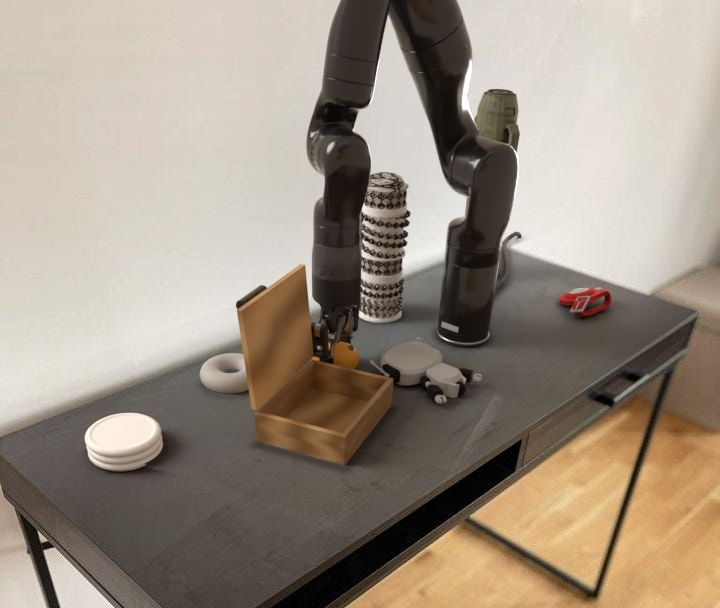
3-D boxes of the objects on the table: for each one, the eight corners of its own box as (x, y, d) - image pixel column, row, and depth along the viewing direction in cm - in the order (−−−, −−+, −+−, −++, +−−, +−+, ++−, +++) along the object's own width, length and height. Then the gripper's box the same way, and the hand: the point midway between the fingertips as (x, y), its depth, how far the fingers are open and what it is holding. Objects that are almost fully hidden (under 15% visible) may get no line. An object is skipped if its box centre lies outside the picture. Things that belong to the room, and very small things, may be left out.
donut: (191, 395, 117) (253, 402, 116) (188, 375, 115) (251, 382, 114) (214, 365, 125) (272, 371, 124) (211, 346, 123) (270, 352, 122)
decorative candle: (396, 327, 139) (405, 186, 124) (348, 319, 141) (351, 179, 126) (409, 307, 146) (419, 172, 131) (363, 300, 148) (367, 166, 133)
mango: (306, 372, 124) (305, 342, 121) (319, 359, 128) (319, 330, 125) (350, 383, 122) (351, 353, 118) (363, 369, 125) (364, 339, 122)
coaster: (74, 453, 104) (68, 431, 102) (134, 424, 110) (130, 403, 108) (118, 482, 99) (113, 460, 97) (178, 450, 105) (175, 429, 103)
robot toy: (484, 392, 122) (412, 355, 129) (489, 368, 119) (416, 331, 126) (437, 421, 115) (364, 380, 122) (442, 396, 112) (367, 355, 119)
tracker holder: (550, 291, 151) (598, 278, 151) (553, 313, 153) (600, 299, 153) (572, 302, 140) (624, 288, 140) (575, 325, 142) (627, 311, 142)
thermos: (482, 287, 155) (508, 99, 134) (442, 269, 162) (461, 88, 141) (512, 278, 159) (541, 94, 138) (472, 261, 167) (493, 84, 146)
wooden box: (391, 409, 116) (393, 378, 112) (344, 469, 103) (344, 437, 99) (311, 389, 120) (311, 359, 117) (256, 445, 107) (254, 413, 104)
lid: (305, 264, 108) (275, 261, 110) (242, 310, 95) (209, 306, 97) (313, 356, 116) (286, 352, 118) (256, 410, 103) (226, 405, 105)
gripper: (339, 290, 108) (337, 392, 118) (377, 258, 119) (373, 354, 129) (292, 280, 110) (294, 382, 120) (334, 250, 121) (333, 345, 131)
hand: (335, 367), depth 124 cm, fingers open, 6 cm apart
